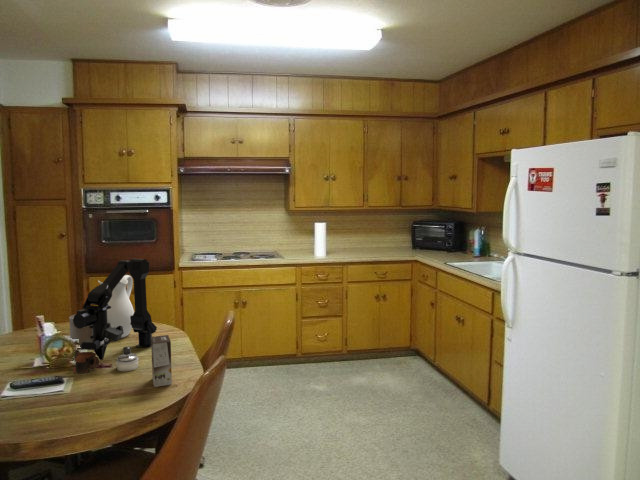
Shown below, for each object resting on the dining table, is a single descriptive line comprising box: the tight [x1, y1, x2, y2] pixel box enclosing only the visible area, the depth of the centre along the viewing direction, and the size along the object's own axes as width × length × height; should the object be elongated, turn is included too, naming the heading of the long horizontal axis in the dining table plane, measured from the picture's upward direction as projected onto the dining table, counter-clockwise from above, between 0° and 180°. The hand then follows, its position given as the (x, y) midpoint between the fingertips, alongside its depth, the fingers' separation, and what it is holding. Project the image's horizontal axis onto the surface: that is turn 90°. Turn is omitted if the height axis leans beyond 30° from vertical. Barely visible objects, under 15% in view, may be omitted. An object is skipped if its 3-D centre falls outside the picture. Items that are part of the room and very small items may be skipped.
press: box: [115, 355, 140, 372], centre depth 195 cm, size 11×8×4 cm
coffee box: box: [150, 334, 173, 388], centre depth 180 cm, size 9×6×16 cm
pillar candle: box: [68, 313, 94, 347], centre depth 220 cm, size 10×10×15 cm
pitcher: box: [97, 274, 135, 339], centre depth 237 cm, size 24×17×28 cm
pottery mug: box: [71, 351, 100, 374], centre depth 191 cm, size 12×10×8 cm
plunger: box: [116, 346, 138, 361], centre depth 193 cm, size 7×7×4 cm
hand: (101, 359), depth 197 cm, fingers closed
